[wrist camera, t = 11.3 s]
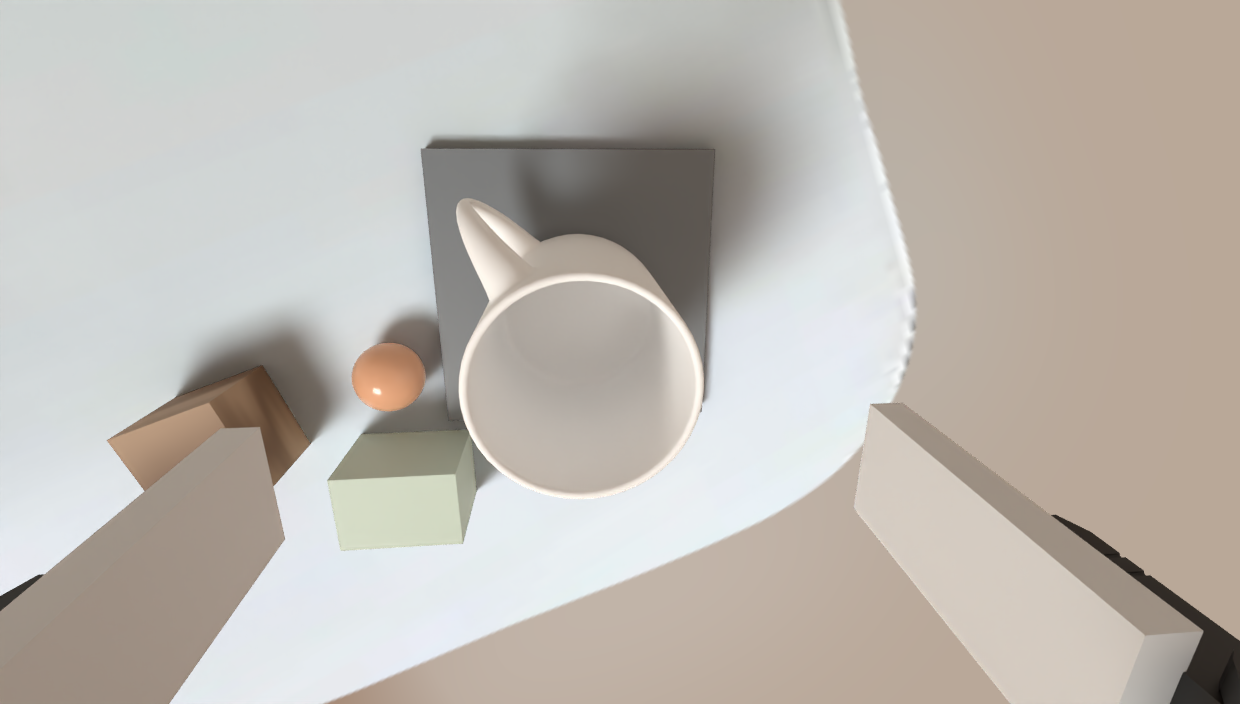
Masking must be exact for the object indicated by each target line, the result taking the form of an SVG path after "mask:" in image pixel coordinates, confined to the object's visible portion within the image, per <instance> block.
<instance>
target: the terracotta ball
mask: <svg viewBox="0 0 1240 704" xmlns="http://www.w3.org/2000/svg"><path fill="white" fill-rule="evenodd" d="M425 378H426V375H425V368H424V365H423V363H422V361H421V359H420V358H419V356H418V355H417V354H416V353H415V352H414V351H413V350H411V349H410V348H408V347H406V346H404V345H401V344H397V343H381V344H377V345H375V346H372V347H370V348H369V349H367V350H366V351H364V352H363V353H362V354H361V355H360V356H359V358H358V359H357V361H356V362H355V364H354V367H353V371H352V385H353V388H354V391H355V393H356V394H357V396H358V397H359V399H360V400H361V401H362V402H363V403H365V404H366V405H367V406H369V407H371V408H373V409H376V410H380V411H396V410H400V409H403V408H405V407H407V406H409V405H410V404H412V403H413V402H414V401H415V400H416V399H417V398H418V397H419V396H420V394H421V392H422V390H423V388H424V385H425Z"/></svg>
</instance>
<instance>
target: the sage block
mask: <svg viewBox="0 0 1240 704" xmlns="http://www.w3.org/2000/svg"><path fill="white" fill-rule="evenodd" d="M327 482H328V487H329V492H330V498H331V503H332V508H333V513H334V519H335V524H336V529H337V534H338V540H339V545H340V550H341V551H345V550H362V549H379V548H396V547H412V546H429V545H446V544H463V541H464V537H465V533H466V530H467V526H468V522H469V518H470V514H471V511H472V507H473V503H474V499H475V495H476V492H477V489H476V478H475V468H474V458H473V448H472V437H471V436H470V433H469V431H468V429H466V430H443V431H420V432H397V433H374V434H361V435H360V436H359V438H358V439H357V440H356V442H355V443H354V445H353V446H352V447H351V449H350V450H349V451H348V453H347V454H346V456H345V457H344V458H343V460H342V461H341V462H340V464H339V465H338V467H337V468H336V469H335V471H334V472H333V473H332V475H331V476H330V478H329V479H328V480H327Z"/></svg>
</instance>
